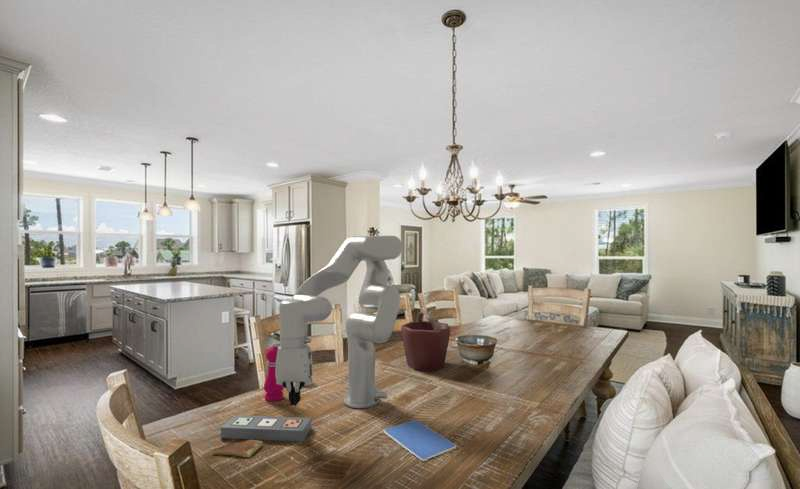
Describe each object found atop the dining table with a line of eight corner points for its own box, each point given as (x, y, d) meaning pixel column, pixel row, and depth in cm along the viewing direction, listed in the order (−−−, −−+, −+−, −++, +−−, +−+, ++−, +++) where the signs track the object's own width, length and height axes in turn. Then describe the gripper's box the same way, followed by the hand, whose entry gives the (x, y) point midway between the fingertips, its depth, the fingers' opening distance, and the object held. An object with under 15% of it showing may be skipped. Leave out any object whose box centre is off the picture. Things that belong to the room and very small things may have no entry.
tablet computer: (458, 450, 103) (458, 445, 103) (422, 465, 96) (422, 460, 96) (415, 422, 119) (415, 418, 119) (381, 434, 112) (381, 429, 112)
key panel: (311, 428, 114) (311, 418, 114) (302, 441, 106) (302, 430, 106) (235, 424, 116) (235, 415, 116) (220, 437, 108) (220, 427, 108)
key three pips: (302, 426, 112) (302, 419, 112) (296, 434, 108) (296, 426, 108) (287, 426, 112) (287, 418, 112) (281, 433, 108) (281, 425, 108)
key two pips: (253, 424, 113) (253, 417, 113) (246, 432, 109) (246, 424, 109) (239, 424, 114) (239, 417, 114) (231, 431, 109) (231, 423, 109)
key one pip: (277, 425, 113) (277, 418, 113) (271, 433, 108) (271, 425, 108) (263, 425, 113) (263, 417, 113) (256, 432, 109) (256, 424, 109)
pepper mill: (278, 403, 132) (278, 345, 132) (259, 401, 133) (260, 344, 134) (288, 395, 139) (288, 341, 139) (270, 393, 140) (270, 340, 141)
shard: (211, 455, 99) (211, 448, 99) (229, 441, 107) (229, 434, 107) (248, 460, 97) (248, 453, 97) (264, 445, 105) (264, 438, 105)
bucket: (451, 374, 162) (452, 317, 163) (400, 374, 163) (401, 316, 163) (445, 358, 187) (446, 308, 187) (401, 357, 187) (401, 307, 188)
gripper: (321, 338, 114) (323, 398, 114) (273, 338, 115) (275, 398, 115) (314, 345, 106) (315, 410, 107) (263, 345, 107) (264, 409, 108)
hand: (294, 403), depth 111 cm, fingers closed
